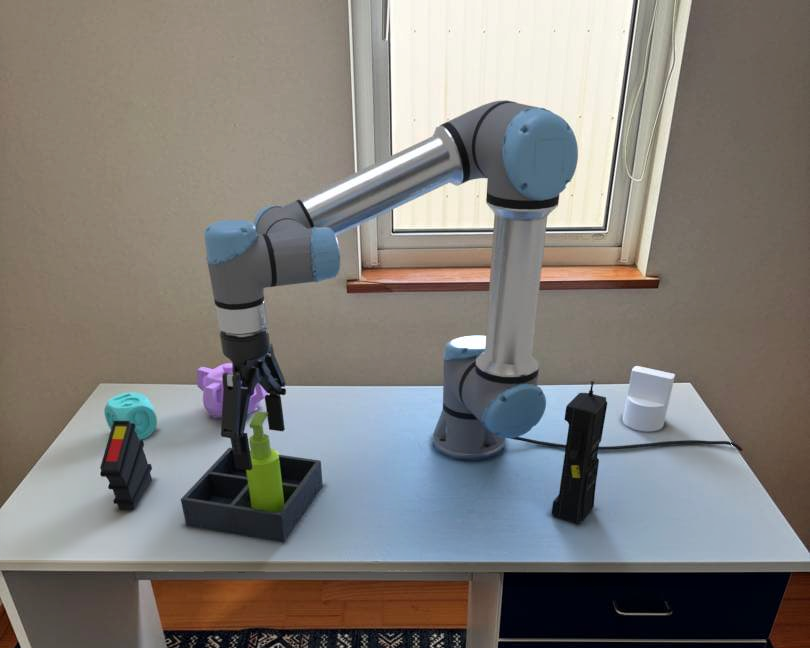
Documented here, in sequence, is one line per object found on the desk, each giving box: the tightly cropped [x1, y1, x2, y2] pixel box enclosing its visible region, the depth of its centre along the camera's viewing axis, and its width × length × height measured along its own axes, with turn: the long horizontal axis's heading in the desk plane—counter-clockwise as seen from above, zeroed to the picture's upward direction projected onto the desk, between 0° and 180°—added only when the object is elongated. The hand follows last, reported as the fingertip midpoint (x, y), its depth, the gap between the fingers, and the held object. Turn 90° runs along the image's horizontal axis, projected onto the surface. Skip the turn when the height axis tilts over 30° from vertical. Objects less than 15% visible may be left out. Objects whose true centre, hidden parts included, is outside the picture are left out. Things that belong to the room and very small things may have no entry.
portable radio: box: [551, 380, 608, 525], centre depth 133 cm, size 8×6×25 cm
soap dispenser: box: [246, 411, 284, 513], centre depth 133 cm, size 6×7×20 cm
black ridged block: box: [99, 421, 153, 510], centre depth 143 cm, size 4×13×15 cm
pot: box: [196, 362, 269, 419], centre depth 171 cm, size 18×17×12 cm
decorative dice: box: [103, 391, 158, 441], centre depth 164 cm, size 8×8×8 cm
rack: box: [180, 446, 324, 543], centre depth 142 cm, size 19×19×6 cm
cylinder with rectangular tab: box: [622, 365, 676, 433], centre depth 166 cm, size 9×9×12 cm
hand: (261, 448), depth 130 cm, fingers open, 13 cm apart
